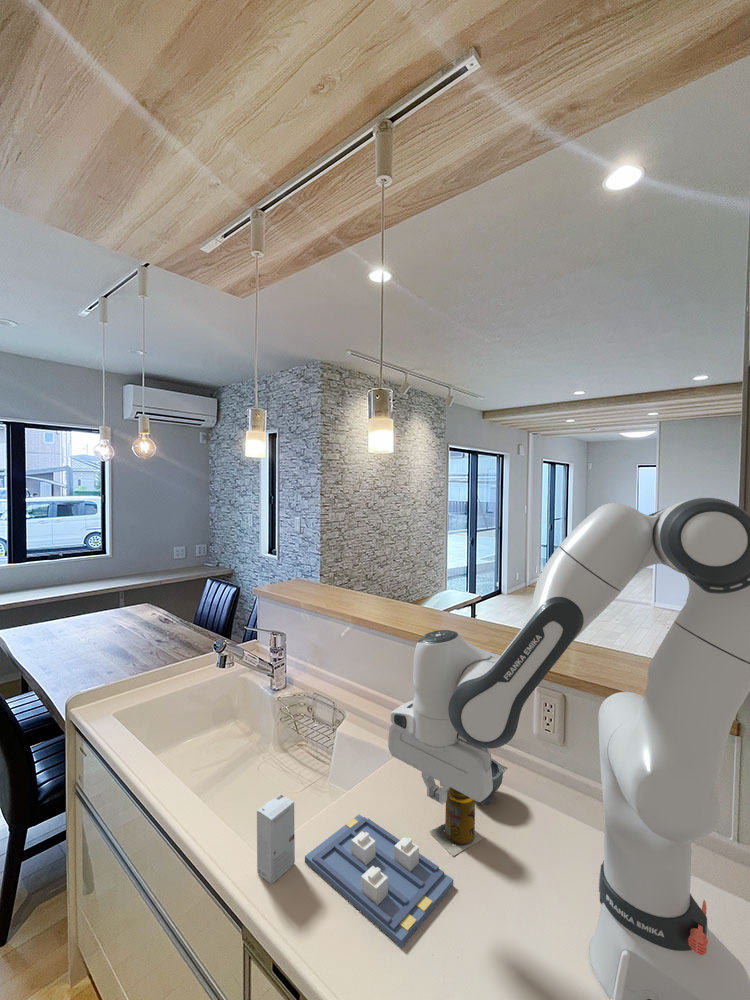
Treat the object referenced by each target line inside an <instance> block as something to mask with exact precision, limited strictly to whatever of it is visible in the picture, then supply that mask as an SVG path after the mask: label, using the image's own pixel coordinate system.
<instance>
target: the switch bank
mask: <svg viewBox="0 0 750 1000" xmlns="http://www.w3.org/2000/svg"><path fill="white" fill-rule="evenodd" d="M362 831H363V832H364V833H365V832H367V833H369V836H370V837H371V838H372V839H374V840H375V841H376V857H375V858H374V859H373V860H372V861H371V862H369V863H368V864H367V865H364V864H363V863H362V862H360V861H359V860H358V859H357V858H355V857H354V856H353V855H352V854H351V840H352V839H353V838H354V837H356V836H357V835H358V834H359V833H361V832H362ZM400 840H401V839H399V838H397V837H396V836H395V835H394V834H392V833H390V832H389V831H387V830H386V829H384V828H383V827H381V825H379V824H377V823H375V821H373V820H371V819H370V818H366V817H365V816H362V815H361V814H360V813H358V814H357V815H356V816H355V817H354V818H352V819H351V820H350V821H348V822H347V823H345V825H343V826H342V827H341V828H339V829H338V830H337V831H335V832H334V833H333V834H331V835H330V836H329V837H328V838H326V839H325V840H324V841H322V842H321V843H319V844H318V845H317V846H316V847H315V848H313V849H312V850H311V851H309V852H307V854H305V855H304V862H305V863H306V864H307V865H308V867H310V868H311V869H312V870H313V871H314V872H316V874H318V875H319V876H320V877H321V878H322V879H323V880H324V881H325V882H326V883H328V884H329V885H330V886H331V887H332V888H333V889H334V890H336V891H337V892H338V893H339V894H340V895H341V896H342V897H343V898H345V900H347V901H348V902H349V903H350V904H351V905H352V906H353V907H354V908H356V909H357V910H358V911H359V912H360V913H361V914H363V916H365V917H366V918H367V919H368V920H369V921H370V922H372V923H373V924H374V926H376V927H377V928H378V929H379V930H381V932H383V933H384V934H385V935H386V936H387V937H388V938H390V940H391V941H393V942H394V943H395V944H396V945H397V946H399V947H400V948H403V947H404V946H405V944H406V943H407V942H408V941H409V940H410V938H411V937H413V934H415V932H416V931H417V930H418V928H420V926H421V925H422V924H423V922H425V920H426V919H427V918H428V917H429V916H430V915H431V913H432V912H433V911H434V909H436V907H437V906H438V905H439V903H440V902H441V901H442V900H443V899H444V898H445V897H446V895H448V893H449V891H450V890H452V888H453V886H454V879H453V877H450V876H449V875H448V874H447V873H445V871H444V870H442V869H441V868H440V867H439V866H438V865H437V864H436V863H434V862H432V861H431V860H430V859H428V858H427V857H426V856H424V855H423V854H421V853H419V864H418V865H417V866H416V867H415V868H414V869H413V870H412V871H411V872H409V871H408V870H407V869H405V868H404V867H403V866H401V865H400V864H398V863H397V862H396V861H394V846H395V845H396V844H397V843H398V842H399V841H400ZM372 866H374V867H375V868H377V867H378V868H380V869H381V872H382V873H383V874H384V875H386V876H387V877H388V895H387V896H386V897H385V898H384V899H383V900H382V901H381V902H380V903H379V905H378V906H377V905H376V904H375V903H373V902H372V901H371V900H370V899H369V898H367V897H366V896H365V895H364V894H363V893H362V892H361V876H362V875H363V874H364V873H365V872H366V871H367V870H368V869H370V868H371V867H372Z"/></svg>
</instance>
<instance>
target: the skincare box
mask: <svg viewBox="0 0 750 1000" xmlns="http://www.w3.org/2000/svg"><path fill="white" fill-rule="evenodd" d="M295 835H296V834H295V802H294V801H293V800H291V799H290V798H288V797H286V796H284V795H282V794H278V795H277V796H276V797H274V798H273V799H270V800H269V801H267V802H266V803H265V804H264V805H263V806H262V807H260V808H258V809H257V810H256V867H257V868H256V870H257V871H256V873H257V874H258V875H259V876H260V877H261V878H262V879H264V880H265V881H266V882H268V883H269V884H270V885H272V884H274V883H275V882H276V881H277V880H279V878H281V877H282V876H283V875H284V874H285V873H286V872H287V871H288V870H290V869H291V868H292V867H293V865H294V864H295V862H296V861H295V860H296V858H295V857H296V856H295V847H296V846H295V845H296V844H295V839H296V838H295Z"/></svg>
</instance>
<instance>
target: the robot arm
mask: <svg viewBox="0 0 750 1000" xmlns="http://www.w3.org/2000/svg"><path fill="white" fill-rule="evenodd" d="M653 565H664V566H667V567H669V568H671V570H673V571H676V572H678V573H680V574H683V575H685V577H686V578H687V581H688V585H689V586H688V587H689V589H688V594H687V598H686V600H685V604H684V606H683V607H682V608H681V610H680V611H679V613H678V615H677V617H675V620H674V621H673V623H672V625H671V626H670V628H669V630H668V631H667V633H666V634H665V637H664V638H663V640H662V642H661V643H660V645H659V646H658V648H657V650H656V651H655V654H654V655H653V657H652V659H651V661H650V662H649V665H648V668H647V679H646V680H647V682H646V687H645V691H644V696H643V695H640V694H638V693H635V692H630V691H621V692H616V693H613V694H611V695H609V696H608V697H607V698H605V699H604V700H603V701H602V703H601V705H600V707H599V709H598V717H597V718H598V720H597V721H598V722H597V723H598V741H599V743H598V746H599V747H598V748H599V763H600V779H601V793H602V802H603V813H604V815H603V816H604V817H603V818H604V832H603V834H604V836H603V861H602V863H601V864H600V869H599V873H598V875H599V876H598V877H599V878H598V892H599V903H600V908H599V909H600V910H599V915H598V920H597V924H596V927H595V931H594V933H593V936H592V938H591V940H590V943H589V958H590V962H591V966H592V969H593V972H594V974H595V976H596V978H597V980H598V981H599V983H600V984H601V986H602V987H603V989H604V990H605V992H606V993H607V995H608V996H610V997H611V999H612V1000H750V977H749V973H748V972H747V970H746V968H745V967H744V964H742V962H741V961H740V960H739V959H738V958H737V956H735V955H734V954H733V952H731V950H729V948H727V946H725V945H724V943H723V942H722V941H721V940H720V939H719V938H718V937H717V936H716V935H715V934H714V933H713V931H712V930H711V929H710V928H709V927H708V916H707V909H708V908H707V904H706V903H707V902H706V900H705V899H703V902H702V906H701V907H700V906H699V904H698V903H697V902H696V900H695V898H694V897H693V896H692V894H691V878H692V851H693V850H692V843H694V842H698V841H701V840H703V839H705V838H707V837H708V836H709V835H710V834H712V833H713V832H714V830H715V829H716V828H717V826H718V823H719V821H720V817H721V805H720V798H719V797H720V796H719V794H720V793H719V783H720V782H719V780H720V774H721V768H722V765H723V759H724V756H725V755H724V754H725V751H726V747H727V746H726V745H727V743H728V738H729V735H730V732H731V729H732V726H733V723H734V721H735V719H736V716H737V714H738V711H739V710H740V708H741V707H742V705H743V703H744V701H745V700H746V698H747V696H748V695H749V693H750V515H749V514H748V512H747V511H745V510H744V509H743V508H741V507H740V506H738V505H736V504H735V503H732V502H730V501H728V500H724V499H721V498H715V497H699V498H691V499H686V500H682V501H679V502H676V503H675V504H672V505H671V506H668V507H666V508H663V509H661V510H659V511H656V512H653V513H650V514H645V513H643V512H641V511H639V510H637V509H636V508H635V507H634V508H633V507H632V506H629V505H626V504H622V503H617V502H614V503H613V502H610V503H606V504H605V503H604V504H602V505H600V506H599V507H598V508H596V509H595V510H594V511H593V512H591V513H590V514H589V515H588V516H587V517H585V518H584V519H583V520H582V521H581V522H580V523H579V524H577V526H576V527H575V528H573V530H571V532H570V533H569V534H568V535H567V536H566V537H565V538H564V539H563V541H562V542H561V543H560V544H559V545H558V547H556V549H555V550H554V552H553V553H552V554H551V555H550V557H549V559H548V560H547V561H546V563H545V565H544V567H543V568H542V570H541V572H540V574H539V577H538V578H537V580H536V584H535V588H534V592H533V596H532V602H531V605H530V608H529V612H528V614H527V616H526V619H525V621H524V623H523V624H522V627H521V628H520V630H519V631H518V632H517V634H516V636H515V637H514V638H513V639H512V640H511V642H510V643H509V644H508V646H507V647H506V648H505V649H504V651H503V652H502V653H501V654H499V653H496V652H494V651H493V652H491V651H487V650H485V649H483V648H481V647H478V646H476V645H474V644H472V643H470V642H469V641H467V640H466V639H464V637H463V636H462V635H461V634H460V633H458V632H457V631H453V630H451V629H440V630H439V629H438V630H434V631H433V630H432V631H430V632H427V633H425V634H424V635H423V636H421V637H420V638H419V640H417V642H416V645H415V648H414V653H413V665H412V666H413V667H412V683H413V688H414V697H413V700H410V701H406V702H405V703H403V704H401V705H400V706H398V707H396V708H395V709H393V710H392V711H391V712H390V714H389V717H390V722H391V723H390V725H389V727H388V736H387V737H388V739H387V740H388V741H387V742H388V743H387V744H388V745H387V746H388V751H389V753H390V755H391V756H392V757H393V758H395V759H397V760H399V761H401V762H403V763H405V764H406V765H409V766H410V767H412V768H414V769H416V770H417V771H420V772H421V778H422V780H423V782H424V784H425V786H426V796H427V797H428V798H430V799H431V800H434V801H435V802H436V803H439V804H441V805H444V804H446V801H447V791H448V790H449V789H450V787H451V788H453V789H455V790H457V791H459V792H460V793H462V794H464V795H466V796H468V797H470V798H472V799H474V800H475V801H477V802H481V801H483V800H484V799H485V798H487V797H488V796H489V795H490V793H491V792H492V789H493V780H492V770H491V758H492V754H491V751H490V749H491V750H492V749H498V748H501V747H503V746H505V745H507V744H508V743H509V742H510V741H512V739H513V738H514V736H515V735H516V733H517V729H518V727H519V721H520V717H521V713H522V710H523V707H524V705H525V703H526V702H527V700H528V699H529V697H530V696H531V694H532V693H533V692H534V691H535V689H537V687H538V686H539V684H540V683H541V682H542V681H543V679H544V678H545V677H546V675H547V674H548V673H549V672H550V671H551V669H552V668H553V667H554V665H555V664H556V663H557V662H558V661H559V659H560V658H561V656H562V655H563V654H564V653H565V652H566V650H567V649H568V648H569V647H570V645H571V644H572V643H573V642H574V641H575V640H576V639H577V638H578V637H579V636H580V635H581V634H582V633H583V632H585V630H586V629H587V627H589V625H591V623H592V622H594V620H596V619H597V618H598V617H599V616H600V615H601V614H602V613H603V612H604V611H605V610H606V609H607V608H608V606H610V605H611V604H612V602H613V601H614V600H615V599H616V598H618V596H620V594H621V593H622V591H624V589H625V588H626V587H627V586H628V585H629V584H630V582H631V581H632V580H633V579H634V578H635V576H636V575H638V574H639V573H640V572H641V571H643V570H645V569H646V568H649V567H650V566H653ZM436 780H437V781H438V782H439V785H438V784H436ZM610 997H609V998H610ZM611 999H610V1000H611Z"/></svg>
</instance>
